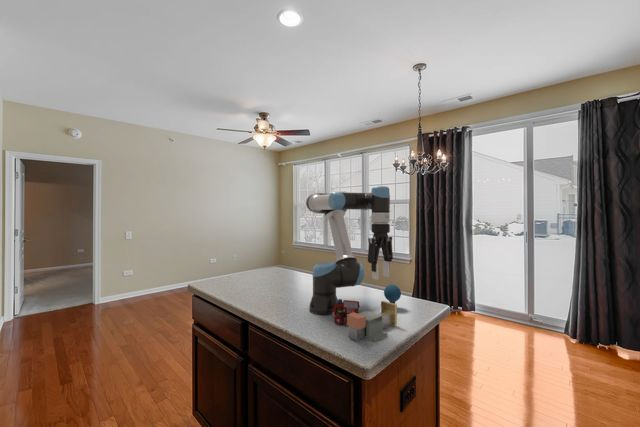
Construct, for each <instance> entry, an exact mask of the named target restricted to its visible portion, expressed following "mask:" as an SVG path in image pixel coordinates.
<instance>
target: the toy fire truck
mask: <svg viewBox="0 0 640 427" xmlns="http://www.w3.org/2000/svg"><path fill="white" fill-rule="evenodd" d="M338 306H339V307H338ZM337 307H338V308H337ZM359 310H360V301H357V300H350V299H349V300H348V299H344V300H342V299H341V298H339V299H338V302H337V303H336V304H335V306H334V308H333V310H332V314H331V317H332V319H333V321H334V323H335V324H336V325H337V326H340V325H342V324H344V323H345V325H346V326H347V327H349V326H348V325H347V314H350V313H353V312H355V313H358V314H359V313H360V312H359ZM337 311H338V312H337ZM336 312H337V313H336Z"/></svg>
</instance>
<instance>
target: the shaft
mask: <svg viewBox="0 0 640 427" xmlns="http://www.w3.org/2000/svg"><path fill="white" fill-rule="evenodd" d="M380 303H381V304H380V313H379V314H378V313H377V314H378V315H381V316H382V330H384V329H386V328H389V327H391V326H392V327H397V326H398V311H397V310H398V309H397V308H398V304H396V303H395V304H394V303H390V302H389V301H386V300H382V301H380ZM348 338H349V339H352V340H354V341H357V342H358V341H359V340H362V339H364V338H366V327H364V328H362V329H359V330H358V329H356V328H353V327H351V326H348Z"/></svg>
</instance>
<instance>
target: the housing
mask: <svg viewBox="0 0 640 427" xmlns="http://www.w3.org/2000/svg"><path fill="white" fill-rule="evenodd" d="M359 314H360V315H363V316H366V337H365V338H366V340H370V341H372V342H377V341H380V340H381V339H384V338H386V337H388V333H387V332H384V331H383V329H382V316H381V315H378V313H375V312H371V311H368V310H364V311H362V312H359Z"/></svg>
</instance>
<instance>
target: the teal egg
mask: <svg viewBox="0 0 640 427" xmlns="http://www.w3.org/2000/svg"><path fill="white" fill-rule="evenodd" d="M383 295H384V297H385V299H386V300H387V302H390V303H394V304H396V302H397V301H398V300H400V299H401V296H402V292H401V289H400V288H399V286H398V285H396V284H388V285H387V286H385V288H384V290H383Z"/></svg>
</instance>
